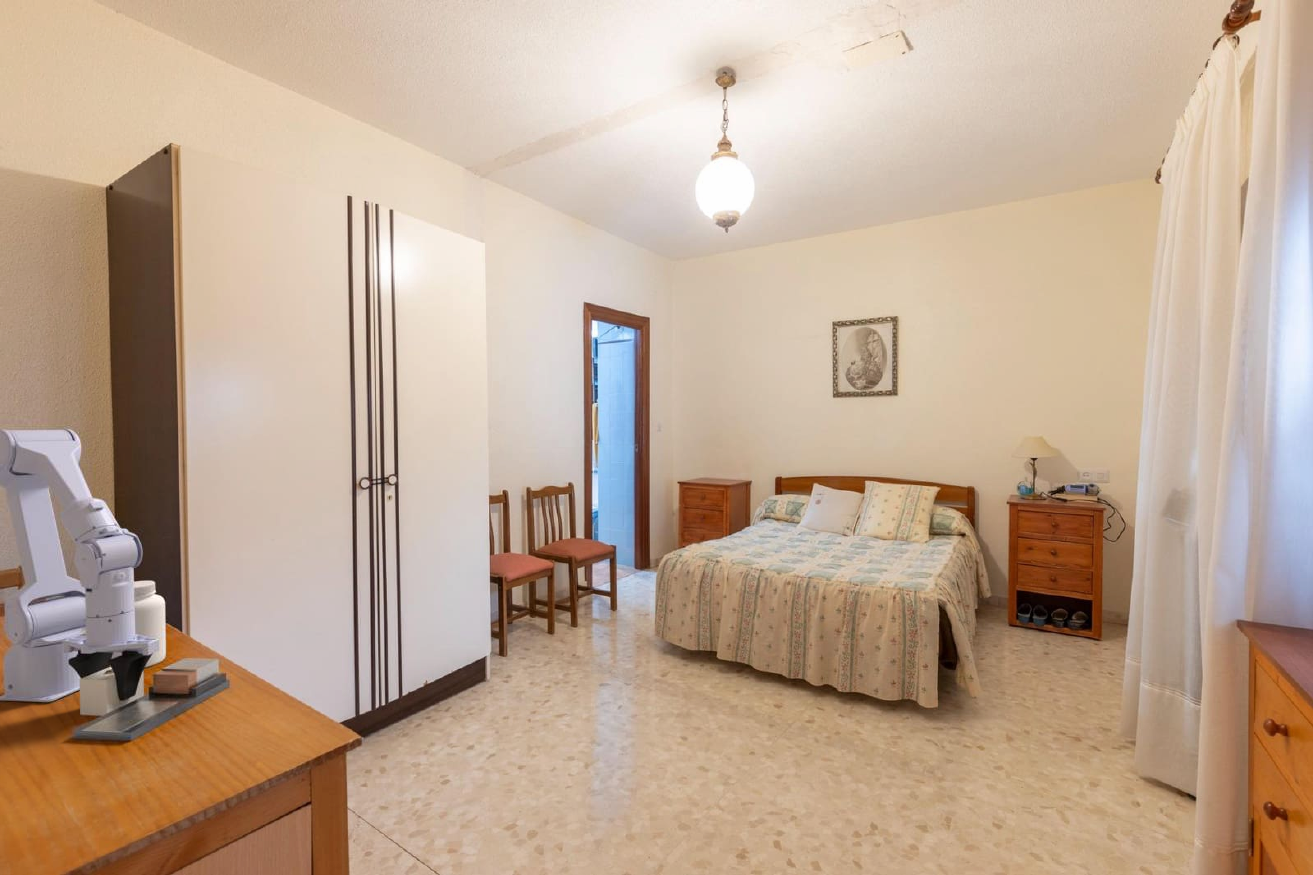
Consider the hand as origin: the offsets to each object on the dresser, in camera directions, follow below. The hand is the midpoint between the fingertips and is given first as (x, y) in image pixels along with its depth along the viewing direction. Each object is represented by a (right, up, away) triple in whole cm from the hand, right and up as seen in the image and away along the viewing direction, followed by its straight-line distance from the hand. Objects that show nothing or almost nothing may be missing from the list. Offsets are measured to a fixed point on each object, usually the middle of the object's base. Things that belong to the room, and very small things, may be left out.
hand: (112, 697), depth 95 cm
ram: (+9, 0, +4) cm, 10 cm away
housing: (0, -1, 0) cm, 1 cm away
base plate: (+8, -1, -1) cm, 9 cm away
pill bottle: (-11, -1, +17) cm, 20 cm away
